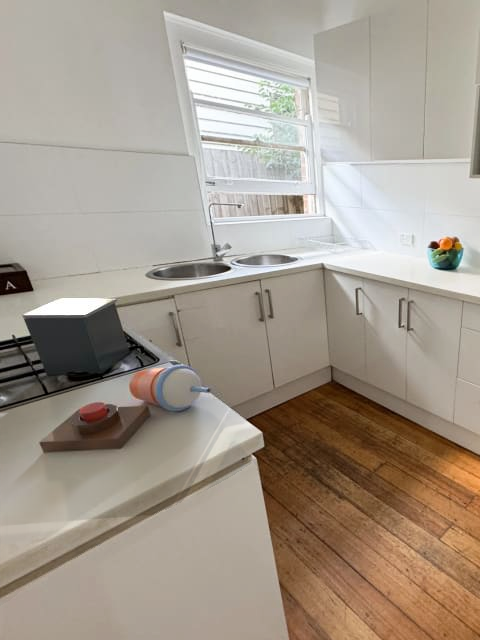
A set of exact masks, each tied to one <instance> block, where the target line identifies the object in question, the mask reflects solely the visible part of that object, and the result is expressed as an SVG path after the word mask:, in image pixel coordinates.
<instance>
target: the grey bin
mask: <svg viewBox="0 0 480 640" xmlns="http://www.w3.org/2000/svg"><path fill="white" fill-rule="evenodd" d="M23 320H24V324H25V325H26V328H27V331H28V333H29V335H30V338H31V340H32V343H33V345H34V347H35V350H36V352H37V355H38V357H39V360H40V363H41V365H42V367H43V369H44V372H45V375H46V376H68V375H69V376H70V375H75V374H67V373H68V372H71V371H84V372H89V373H90V374H89V375H101V374H103V373H105V372H106V371H107V370H109V369H110V368H112V367H113V366H114V365H116V364H117V363H118V362H120V360H122V359H123V358H125V357H126V356H128V354H130V349H129V346H128V341H127V339H126V335H125V332H124V328H123V325H122V322H121V318H120V315H119V312H118V309H117V305H116V302H115V303H113V304H112V305H110V306H108V307H106V308H104V309H102V310H100V311H98V312H96V313H94V314H92V315H90V316H88V317H86V318H23ZM93 373H94V374H93ZM95 373H97V374H95Z"/></svg>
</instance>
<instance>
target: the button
mask: <svg viewBox="0 0 480 640" xmlns="http://www.w3.org/2000/svg"><path fill="white" fill-rule="evenodd" d="M105 404H106V403H105V402H102V401H96V402H91V403H88V404H85V405H84V406H82V407H80V408H81V409H80V408H79V409H80V410H79V409H78V410H79V413H80V415H81V418H82V420H83V421H92V420H96V419H99V418H101V417H103V416H105V415H106V414H107V413H108V411H107V408H106V405H105Z"/></svg>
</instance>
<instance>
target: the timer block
mask: <svg viewBox="0 0 480 640" xmlns="http://www.w3.org/2000/svg"><path fill="white" fill-rule="evenodd" d="M105 405H106V408H107V411H108V413H107V414H106V415H105V416H103V417H101V418H99V419H96V420H92V421H83V420H82V418H81V415H80V413H79V410H80V409H81V408H82V407H80V408H79V409H78V410H76V411H75V412H74V413H72V414H71V415H70V416H68V417H67V419H65V420H64V421H63V422H62V423H60V424H59V425H58V426H56V428H54V429H53V430H51V432H49V433H48V434H46V435H45V436H44V437H43V438H42V439H40V441H38V443H39V445H40V448H41V450H42V452H43V453H61V452H81V451H82V452H83V451H100V450H101V451H102V450H118V449H119V450H121V449H122V448H123V447H124V446H125V445H126V444H127V443H128V441H130V439H131V438H132V437H133V436H134V435H135V434H136V433H137V432H138V430H140V428H141V427H142V426H143V425H144V423H146V421H147V420H148V419H149V418H150V417H151V411H150V408H149V405H134V406H133V405H131V406H118V405H116V404H112V403H105Z"/></svg>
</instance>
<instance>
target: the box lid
mask: <svg viewBox="0 0 480 640" xmlns="http://www.w3.org/2000/svg"><path fill="white" fill-rule="evenodd" d="M117 302H118V300H117V298H60V299H58V300H55V301H53V302H50V303H48V304H45V305H43V306H41V307H38V308H36V309H33V310H31V311H28V312H26V313H23V314H21V315H22V318H23V319H24V318H86V317H88V316H90V315H92V314H94V313H96V312H98V311H100V310H102V309H104V308H106V307H108V306H110V305H112V304H113V303H115V304H116V303H117Z"/></svg>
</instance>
